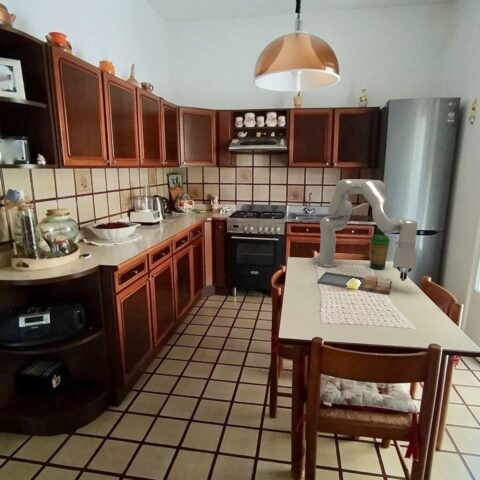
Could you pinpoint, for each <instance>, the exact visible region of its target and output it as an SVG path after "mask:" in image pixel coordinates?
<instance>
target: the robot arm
mask: <svg viewBox="0 0 480 480" xmlns="http://www.w3.org/2000/svg"><path fill="white" fill-rule="evenodd" d="M385 192H386V185H385V183H384V182H383V181H382V180H378V179H361V178H359V179H358V178H357V179H356V178H355V179H354V178H352V179H351V178H350V179H349V178H347V179H346V178H345V179H341V180H339V181H338V182H337V184H336V185H335V189H334V192H333V195H332V197H331V200H330V202H329V205H328V208H327V213H328V215H326V216H323V217H322V218H321V219H320V221H319V228H320V242H319V256H313V257H312V260H313V261H316V265H317V266H320V267H323V268H334V267H336V266H337V262H336V261H335V259H336V257H335V256H336V246H337V245H336V242H337V236H336V233H335V231H342V230H343V229H345V228H346V226H347V225H348V223H349V220H350V218H351V216H352V213H353V209H354V207H353V204H352V203H351V201H350V200H348V198H349V195H360V194H361V195H362V196H363V197H364V198H365V200H366V201H367V203H368V204H369V206H370V207H371V209H372V220H373V221H374V223H375V225H376V226H378V228H379V229H380V230H381V231H382V232H384V234H386V235H387V234H396V233H397V234H398V233H399V236H398V241H395V243H394V244H395V245H397V246H396V248H395V251H394V256H393V264H392V268H393V269H396V270H397V271H399V273H400V275H399V279H400V280H401V282H402V281H403V282H405V281H406V280H407V279H408V277H407V276H408V275H407V274H408V273H410V272H411V271H416V270H417V267H416V266H417V262H418V261H417V260H418V258H417V257H418V253H417V251H418V250H417V248H416V241H417V231H418V222H417V220H414V219H405V218H402V217H392V218H389V217H388V216H387V215H386V214H387V213H385V211H384V207H385V206H386V205H387V204H388V199H387V197H386V196H385V195H384V193H385ZM348 194H349V195H348ZM403 269H405V270H403Z"/></svg>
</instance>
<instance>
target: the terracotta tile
mask: <svg viewBox="0 0 480 480" xmlns="http://www.w3.org/2000/svg"><path fill="white" fill-rule="evenodd" d="M364 277H365V278H364V284H370V285H376V283H377V279H378V277H376V276H370V275H365V276H364Z"/></svg>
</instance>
